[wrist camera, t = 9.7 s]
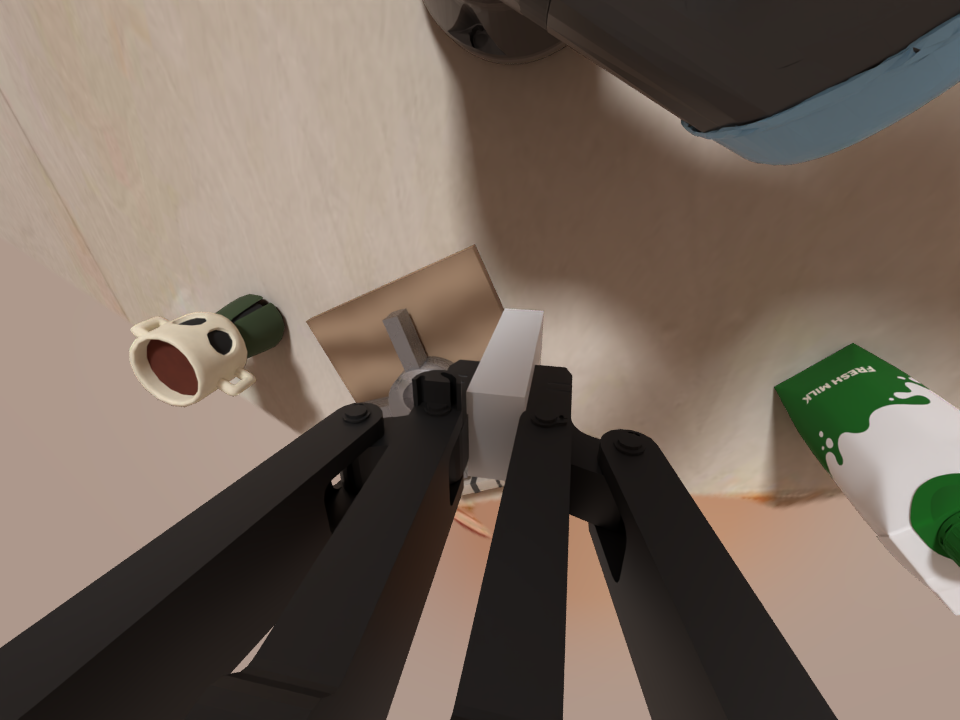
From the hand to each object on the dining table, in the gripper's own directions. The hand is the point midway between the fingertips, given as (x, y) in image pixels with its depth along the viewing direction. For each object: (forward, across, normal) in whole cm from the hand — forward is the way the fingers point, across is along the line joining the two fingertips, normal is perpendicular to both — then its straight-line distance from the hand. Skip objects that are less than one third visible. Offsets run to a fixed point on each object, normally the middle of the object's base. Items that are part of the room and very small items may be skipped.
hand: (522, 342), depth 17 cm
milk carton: (+25, +26, -13) cm, 38 cm away
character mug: (+25, -32, -10) cm, 41 cm away
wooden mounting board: (+24, -11, -16) cm, 31 cm away
